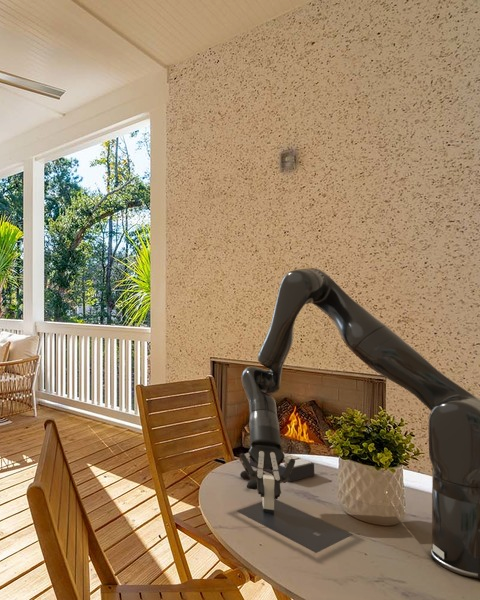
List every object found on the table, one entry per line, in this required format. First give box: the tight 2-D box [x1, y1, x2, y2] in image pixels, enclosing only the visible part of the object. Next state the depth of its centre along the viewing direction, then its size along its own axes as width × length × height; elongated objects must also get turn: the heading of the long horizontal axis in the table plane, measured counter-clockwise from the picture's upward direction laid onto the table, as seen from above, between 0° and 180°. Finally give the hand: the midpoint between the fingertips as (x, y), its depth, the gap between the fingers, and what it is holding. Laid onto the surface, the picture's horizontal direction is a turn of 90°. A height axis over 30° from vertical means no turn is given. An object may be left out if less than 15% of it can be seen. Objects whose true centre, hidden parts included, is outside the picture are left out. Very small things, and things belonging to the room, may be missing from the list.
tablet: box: [236, 499, 354, 554], centre depth 100 cm, size 22×16×1 cm
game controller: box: [239, 469, 266, 490], centre depth 123 cm, size 10×5×6 cm
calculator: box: [249, 451, 315, 482], centre depth 133 cm, size 11×4×15 cm
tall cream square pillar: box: [262, 473, 275, 513], centre depth 105 cm, size 2×2×8 cm
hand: (269, 496), depth 103 cm, fingers closed on tall cream square pillar, 2 cm apart
